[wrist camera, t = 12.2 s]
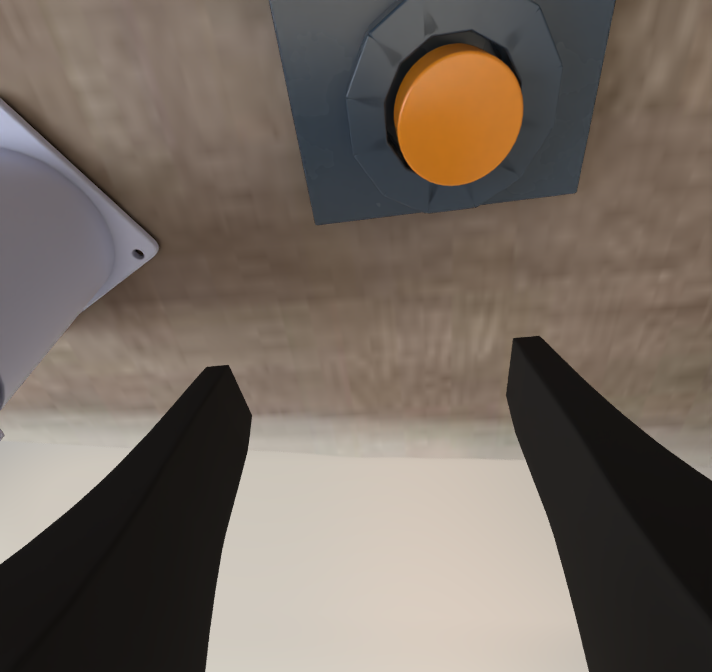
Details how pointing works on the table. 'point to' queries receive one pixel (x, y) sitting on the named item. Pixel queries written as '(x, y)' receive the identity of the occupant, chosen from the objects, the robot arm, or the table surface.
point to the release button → (457, 114)
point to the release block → (390, 65)
